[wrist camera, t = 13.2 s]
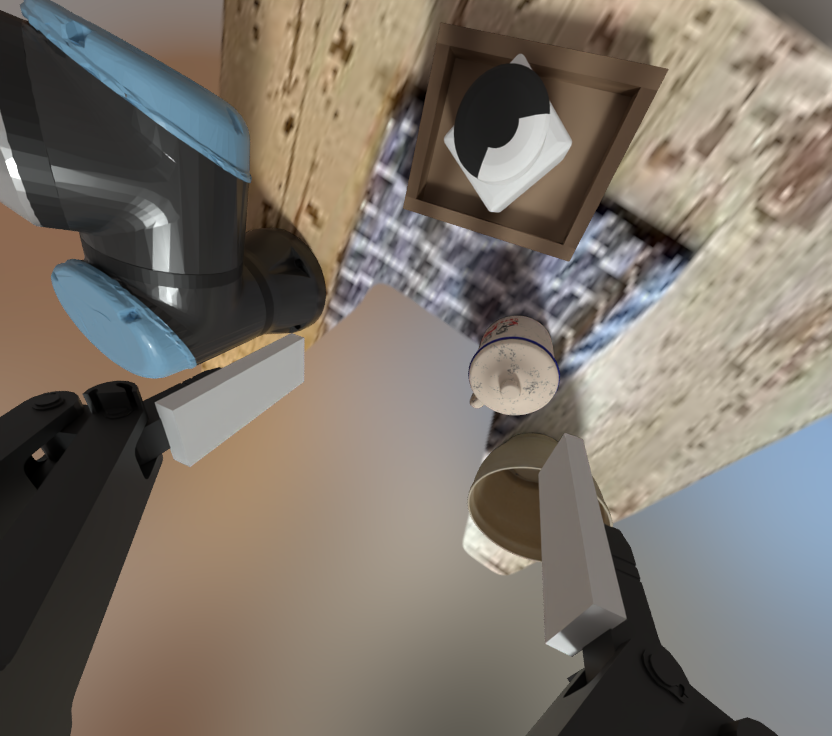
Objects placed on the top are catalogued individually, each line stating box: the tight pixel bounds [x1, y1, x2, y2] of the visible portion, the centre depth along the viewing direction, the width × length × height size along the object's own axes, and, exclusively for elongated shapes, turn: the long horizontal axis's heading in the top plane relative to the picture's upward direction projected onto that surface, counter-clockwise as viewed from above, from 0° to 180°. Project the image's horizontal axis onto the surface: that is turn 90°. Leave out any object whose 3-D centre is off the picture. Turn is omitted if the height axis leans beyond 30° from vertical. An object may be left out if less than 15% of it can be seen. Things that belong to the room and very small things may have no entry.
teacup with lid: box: [468, 316, 560, 415], centre depth 34 cm, size 12×9×12 cm
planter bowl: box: [468, 433, 613, 562], centre depth 40 cm, size 16×16×11 cm
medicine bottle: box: [444, 54, 572, 213], centre depth 23 cm, size 7×7×12 cm
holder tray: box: [403, 23, 668, 261], centre depth 28 cm, size 18×14×4 cm
